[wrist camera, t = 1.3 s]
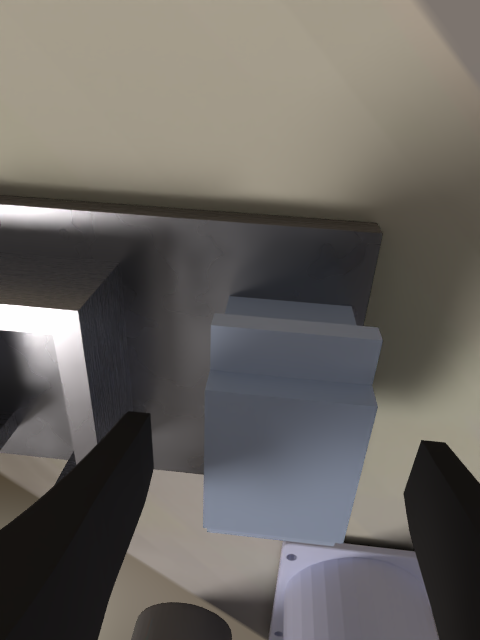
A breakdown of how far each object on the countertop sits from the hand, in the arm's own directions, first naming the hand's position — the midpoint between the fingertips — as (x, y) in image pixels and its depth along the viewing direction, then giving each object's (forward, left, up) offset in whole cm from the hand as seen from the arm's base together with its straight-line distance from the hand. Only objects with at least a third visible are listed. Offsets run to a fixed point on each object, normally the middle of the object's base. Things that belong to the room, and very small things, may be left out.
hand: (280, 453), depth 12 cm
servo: (0, 0, -4) cm, 4 cm away
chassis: (-1, +5, -5) cm, 7 cm away
